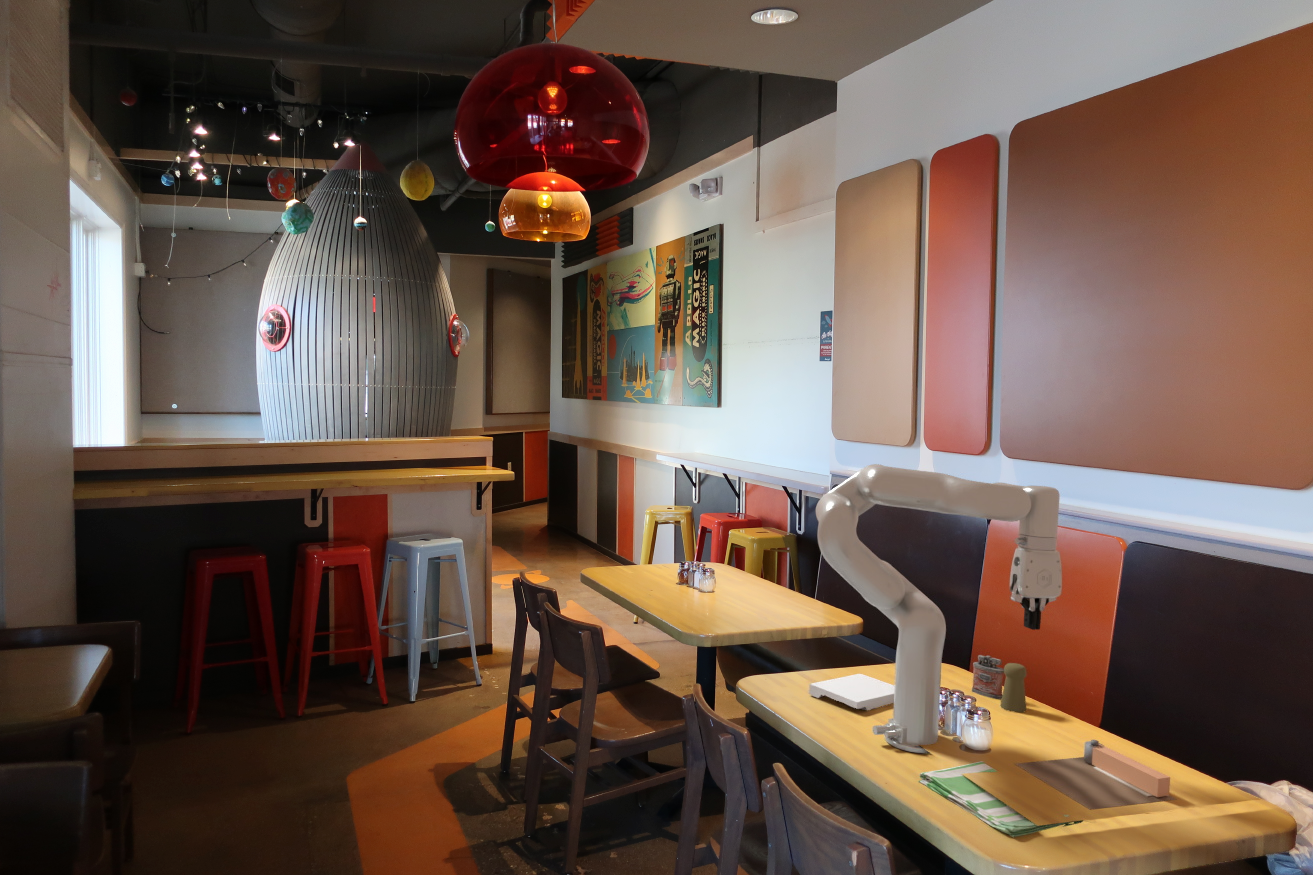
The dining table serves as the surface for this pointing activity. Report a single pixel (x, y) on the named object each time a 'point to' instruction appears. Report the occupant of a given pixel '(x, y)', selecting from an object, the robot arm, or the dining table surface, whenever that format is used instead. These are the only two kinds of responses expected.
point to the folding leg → (1126, 769)
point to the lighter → (988, 677)
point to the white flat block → (855, 691)
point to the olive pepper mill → (1014, 688)
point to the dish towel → (981, 799)
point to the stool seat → (1089, 783)
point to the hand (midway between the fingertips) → (1031, 627)
